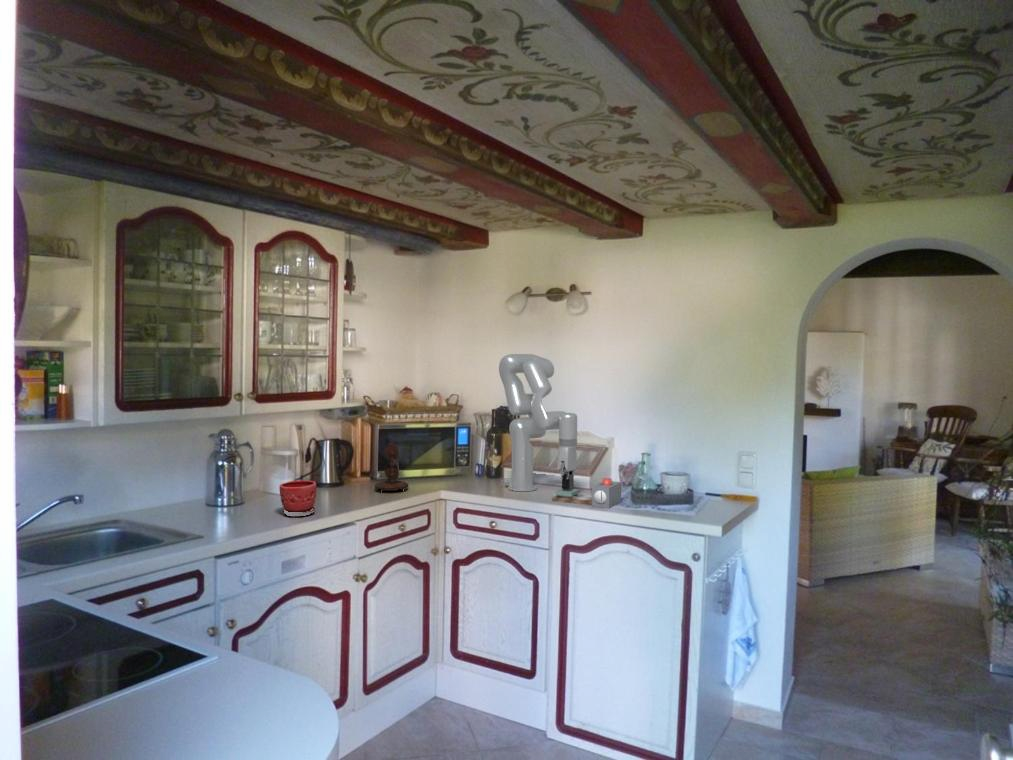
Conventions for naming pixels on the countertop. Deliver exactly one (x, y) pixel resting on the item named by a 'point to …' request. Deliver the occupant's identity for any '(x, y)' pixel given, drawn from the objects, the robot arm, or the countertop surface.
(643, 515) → the countertop surface
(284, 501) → the plant pot
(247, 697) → the countertop surface
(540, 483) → the countertop surface
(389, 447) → the dark wooden figurine
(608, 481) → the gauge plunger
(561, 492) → the carriage
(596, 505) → the gauge cabinet
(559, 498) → the rail board
